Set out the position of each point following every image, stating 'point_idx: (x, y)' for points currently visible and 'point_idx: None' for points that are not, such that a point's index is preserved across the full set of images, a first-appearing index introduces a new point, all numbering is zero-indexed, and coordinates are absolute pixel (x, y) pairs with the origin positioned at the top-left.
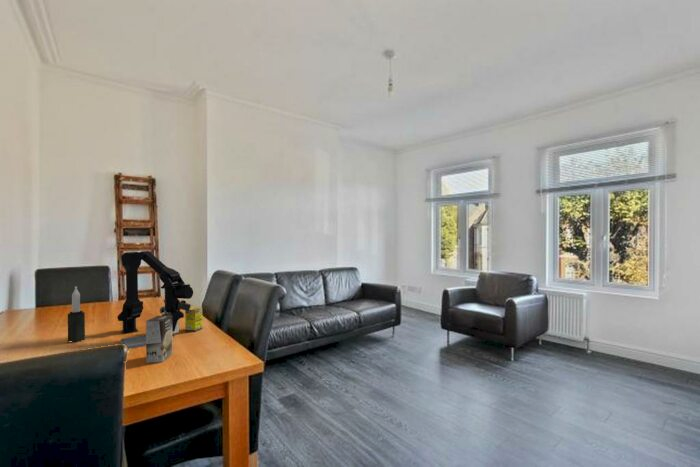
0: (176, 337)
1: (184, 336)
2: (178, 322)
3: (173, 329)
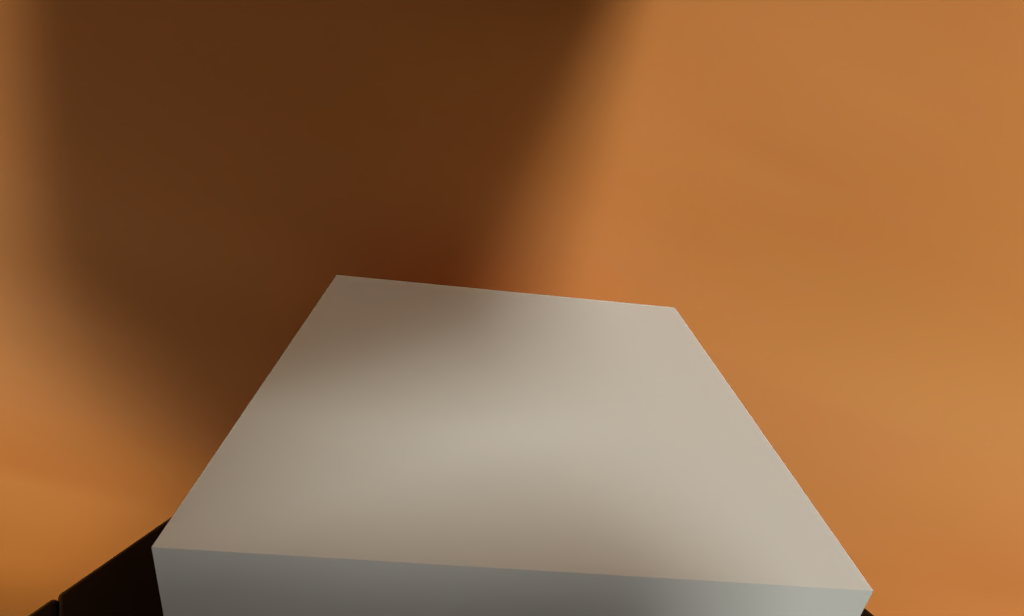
0: (779, 377)
1: (890, 212)
2: (861, 580)
3: None
